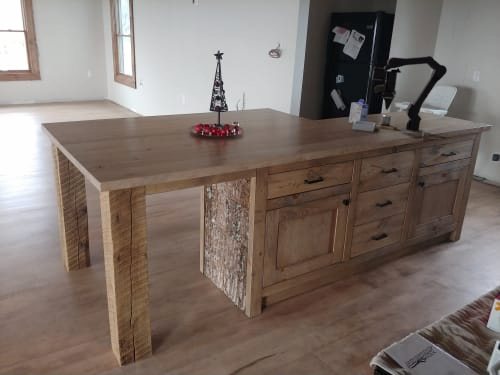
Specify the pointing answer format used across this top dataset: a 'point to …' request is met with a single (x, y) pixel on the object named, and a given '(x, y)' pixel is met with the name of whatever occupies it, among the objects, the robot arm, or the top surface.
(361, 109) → the ink cartridge box
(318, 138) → the top surface
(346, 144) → the top surface
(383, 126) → the socket block
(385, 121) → the plug
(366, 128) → the bin
